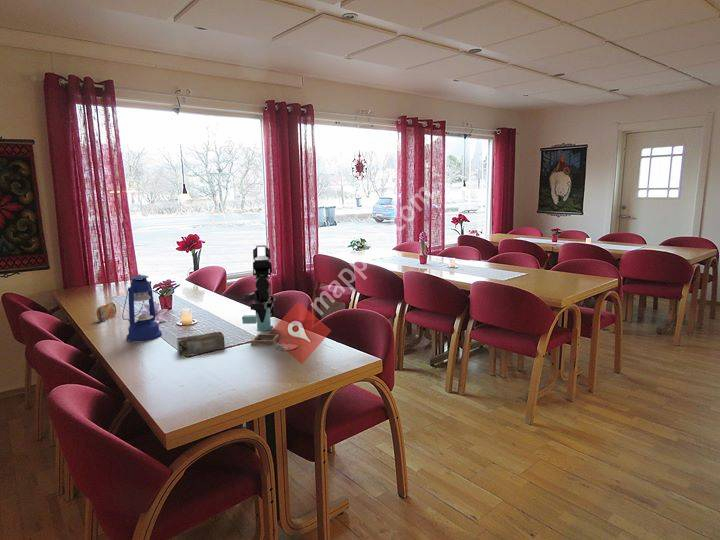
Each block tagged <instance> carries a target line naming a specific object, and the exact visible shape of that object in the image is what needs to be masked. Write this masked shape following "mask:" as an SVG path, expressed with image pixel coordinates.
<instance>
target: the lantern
mask: <svg viewBox="0 0 720 540" xmlns="http://www.w3.org/2000/svg"><path fill="white" fill-rule="evenodd" d="M148 278H149V276H148V275H146V274H145V275H144V274H137V275H134V276H131V277H129V279H130V280H131V282H130V287H128V288H127V290H126V291H127V292H126V297H125V301H124V307H123V310H122V320H123V321H125V320H128V322H129V326H128V333H127V335H126V340H127V341H128V340H129V341H128V342H132V341H142V342H147V341H148V340H149V341H153V340H155V339H159V338H161V337H162V336H161V335H162V331H161V330H160V326H159V323H157V322H156V321H154V320H155V308H154V302H155V301H154V294H153V288H152V281H149V280H148ZM127 298H128V317H129V318H124V311H125V307H126V304H127ZM145 301H148V305H149V307H150V308H149V311H150V315H145V314H141V313H140V311H142V310H143V309H144V308H145V307H146V306H144V304H145ZM135 302H139V304H140V305H141V308H140V309H139V310H137V311H136V314H135ZM140 302H142V303H140ZM143 306H144V307H143ZM137 312H138V313H137ZM139 314H140V315H139ZM160 336H161V337H160Z"/></svg>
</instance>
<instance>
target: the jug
mask: <svg viewBox="0 0 720 540" xmlns="http://www.w3.org/2000/svg"><path fill="white" fill-rule="evenodd" d="M266 308H268V309H267V312H266V316H265V319H264V322H263V323H261V321H260V318H259V316H258V313H257V315H256V314H251V315H250V314H249V315H248V314H246V315H245V314H243V315H242V319H241V321H242V324H245V325H247V324H254V325H255V324H256V327H257V328H256V330H257V331H261V332H265V331H270V330H272V328H271V326H272V325H271V324H272V323H271V322H272V321H270V319H271V317H270V314H271V313H270V308H269V307H266Z"/></svg>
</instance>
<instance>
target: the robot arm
mask: <svg viewBox="0 0 720 540" xmlns="http://www.w3.org/2000/svg"><path fill="white" fill-rule="evenodd" d="M252 256H253V257H252V259H253V261H252V276H254V277H255V290H254V291H253V292H251V293H246V294H244V295H243V300H242V301H244V302H245V304H249V303H250V302H252V303H251V304H250V311H255V315H257V313H258V316H259V318H260V321H261V323H263V322H264V319H265V316H266V312H267V309H268V308H266V307H269V308H270V321H271V318H274V317H275V307H274V302H276V295H275V294H270V293H271V292H270V291H271V289H272V288H271V287H270V278H269V277H270V276H272V273H273V263H272V262H271V261H270V260H271V259H272V258H271V248H268V245H266V244H261V245H260V244H258V245H256V246H255V248H254V249H252ZM253 301H254V302H253ZM271 322H272V321H271ZM272 328H274V326H273V325H271V329H272Z"/></svg>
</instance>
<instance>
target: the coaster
mask: <svg viewBox="0 0 720 540" xmlns="http://www.w3.org/2000/svg"><path fill="white" fill-rule="evenodd" d="M288 343H289V342H288ZM284 344H285V343H280V344H278V345H277V346H276V349H277V348H278V349H280V350H279V351H281V350H285V348H286V347H283V346H284ZM280 345H281V346H280ZM287 347H289V348H288V349H289V350H290V343H289V346H287ZM278 349H277V350H278ZM286 350H287V349H286ZM290 351H291V350H290Z"/></svg>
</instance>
